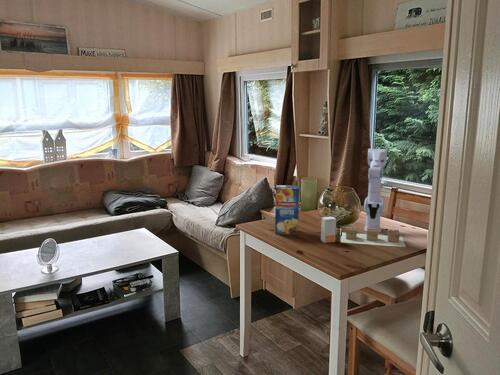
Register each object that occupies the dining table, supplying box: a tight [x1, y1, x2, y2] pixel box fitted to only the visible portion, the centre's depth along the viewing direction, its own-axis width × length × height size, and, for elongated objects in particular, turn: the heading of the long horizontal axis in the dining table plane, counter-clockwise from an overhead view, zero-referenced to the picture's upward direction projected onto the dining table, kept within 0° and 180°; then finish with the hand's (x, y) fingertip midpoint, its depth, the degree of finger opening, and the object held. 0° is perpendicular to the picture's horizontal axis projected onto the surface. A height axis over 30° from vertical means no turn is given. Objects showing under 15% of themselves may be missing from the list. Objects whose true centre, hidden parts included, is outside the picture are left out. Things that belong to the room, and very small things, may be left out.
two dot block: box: [345, 226, 358, 240], centre depth 216 cm, size 5×5×5 cm
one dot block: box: [387, 228, 401, 243], centre depth 212 cm, size 5×5×5 cm
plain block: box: [366, 228, 379, 241], centre depth 214 cm, size 5×5×5 cm
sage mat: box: [340, 232, 406, 248], centre depth 214 cm, size 16×30×1 cm, turn 77°
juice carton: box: [274, 184, 300, 235], centre depth 225 cm, size 12×8×24 cm, turn 84°
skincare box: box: [320, 216, 337, 244], centre depth 211 cm, size 6×4×12 cm
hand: (372, 218), depth 215 cm, fingers closed
